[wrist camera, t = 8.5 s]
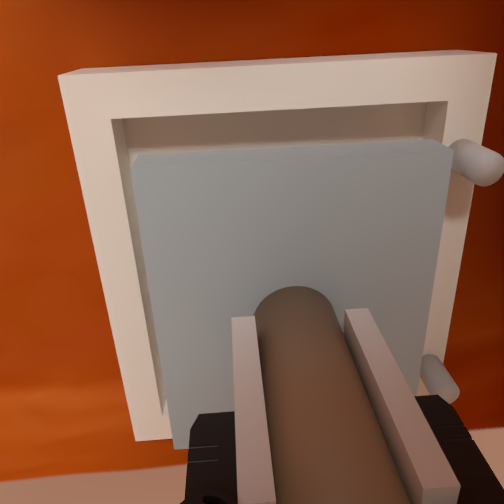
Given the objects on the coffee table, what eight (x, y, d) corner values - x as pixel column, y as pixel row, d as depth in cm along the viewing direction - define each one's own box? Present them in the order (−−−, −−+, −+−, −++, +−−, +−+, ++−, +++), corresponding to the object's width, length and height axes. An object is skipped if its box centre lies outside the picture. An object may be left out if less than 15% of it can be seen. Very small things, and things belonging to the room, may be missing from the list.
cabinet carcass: (81, 68, 18) (35, 81, 14) (457, 49, 19) (532, 56, 14) (144, 397, 26) (128, 476, 21) (411, 377, 26) (451, 450, 22)
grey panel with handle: (138, 154, 15) (4, 359, 6) (432, 139, 16) (754, 308, 6) (177, 420, 21) (139, 754, 11) (397, 404, 21) (543, 714, 12)
